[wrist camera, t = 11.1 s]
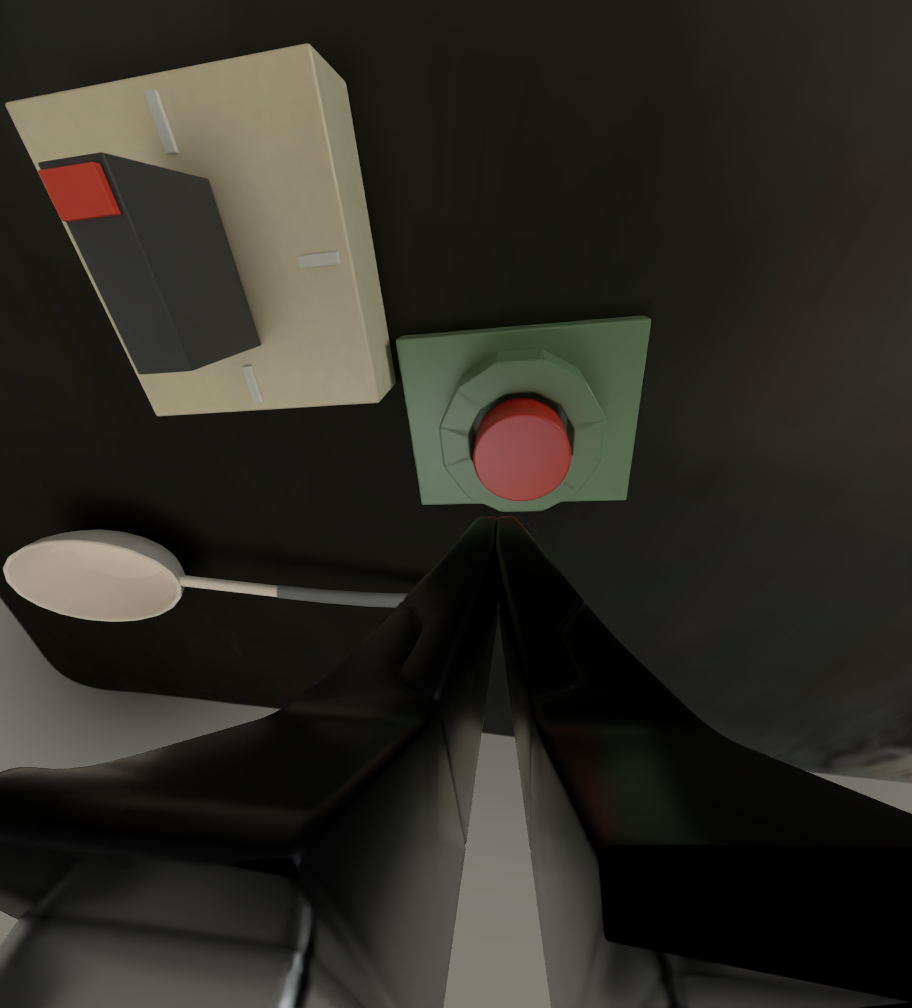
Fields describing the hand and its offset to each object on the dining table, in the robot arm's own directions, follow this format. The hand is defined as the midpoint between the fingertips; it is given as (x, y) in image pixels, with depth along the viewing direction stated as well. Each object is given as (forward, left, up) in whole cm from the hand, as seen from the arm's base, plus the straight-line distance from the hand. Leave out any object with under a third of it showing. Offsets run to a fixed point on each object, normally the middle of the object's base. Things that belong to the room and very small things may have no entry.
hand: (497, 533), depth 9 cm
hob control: (-10, +6, -11) cm, 16 cm away
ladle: (-14, -10, -11) cm, 21 cm away
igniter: (+1, -1, -11) cm, 11 cm away
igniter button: (+1, -1, -8) cm, 8 cm away
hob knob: (-10, +6, -8) cm, 14 cm away
